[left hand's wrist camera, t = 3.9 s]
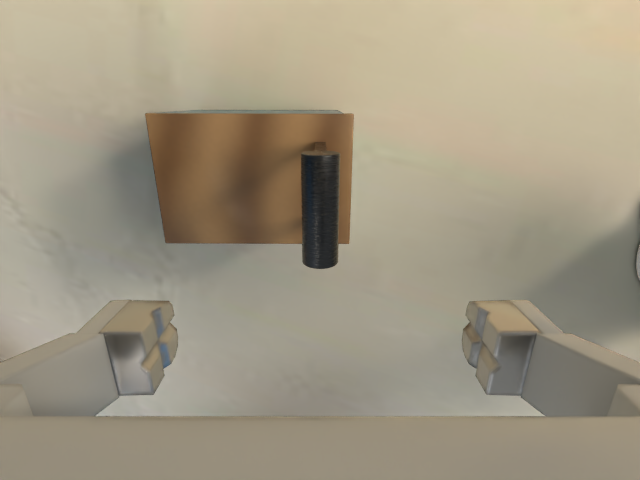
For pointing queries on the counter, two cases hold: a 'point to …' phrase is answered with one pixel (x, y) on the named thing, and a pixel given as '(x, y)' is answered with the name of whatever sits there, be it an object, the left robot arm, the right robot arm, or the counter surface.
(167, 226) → the lid
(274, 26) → the counter surface
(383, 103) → the counter surface
